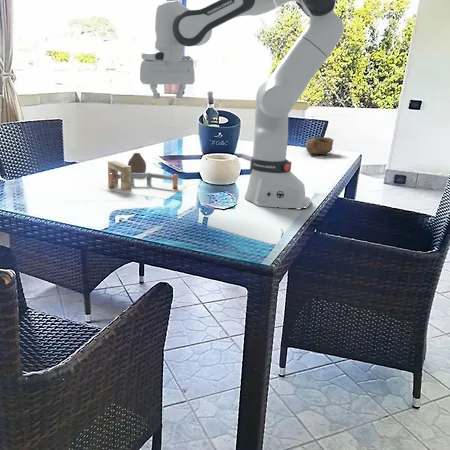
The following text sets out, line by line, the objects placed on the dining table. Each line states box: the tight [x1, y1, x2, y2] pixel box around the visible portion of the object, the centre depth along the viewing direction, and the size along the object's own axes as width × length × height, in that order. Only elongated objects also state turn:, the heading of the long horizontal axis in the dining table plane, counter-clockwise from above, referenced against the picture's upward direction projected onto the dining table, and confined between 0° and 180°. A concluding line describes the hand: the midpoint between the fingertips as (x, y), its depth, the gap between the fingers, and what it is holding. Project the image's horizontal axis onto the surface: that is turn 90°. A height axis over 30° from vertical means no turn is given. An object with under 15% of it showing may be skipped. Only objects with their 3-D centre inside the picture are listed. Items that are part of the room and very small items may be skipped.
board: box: [101, 177, 188, 200], centre depth 170 cm, size 24×19×1 cm
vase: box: [127, 152, 147, 173], centre depth 186 cm, size 7×7×9 cm
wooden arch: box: [107, 160, 131, 191], centre depth 167 cm, size 3×10×8 cm, turn 42°
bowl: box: [305, 136, 334, 155], centre depth 250 cm, size 18×14×10 cm
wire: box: [108, 172, 179, 189], centre depth 170 cm, size 23×6×5 cm, turn 100°
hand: (168, 98), depth 166 cm, fingers open, 8 cm apart
